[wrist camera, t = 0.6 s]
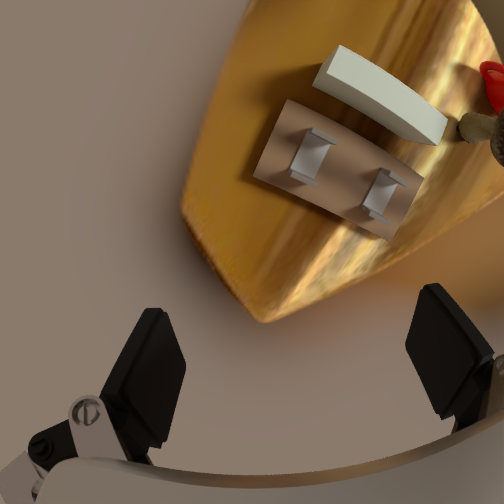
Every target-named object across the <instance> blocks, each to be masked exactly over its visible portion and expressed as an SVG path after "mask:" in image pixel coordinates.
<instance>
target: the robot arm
mask: <svg viewBox="0 0 504 504" xmlns="http://www.w3.org/2000/svg"><path fill="white" fill-rule="evenodd" d="M405 346H406V350H407V353H408V354H409V356H410V358H411V361H412V363H413V365H414V367H415V369H416V371H417V373H418V375H419V377H420V379H421V381H422V384H423V386H424V388H425V390H426V393H427V395H428V397H429V399H430V402H431V404H432V406H433V409H434V411H435V413H436V414H439V415H440V418H441V420H444V419H446V418H449V417H451V416H453V414H454V416H455V423H454V426H453V429H452V432H451V435H449V436H446V437H444V438H441V439H439V440H436V441H434V442H432V443H429V444H426V445H423V446H421V447H418V448H415V449H412V450H409V451H406V452H403V453H400V454H396V455H393V456H389V457H386V458H382V459H378V460H374V461H370V462H366V463H362V464H357V465H352V466H348V467H342V468H336V469H330V470H323V471H315V472H306V473H295V474H281V475H223V474H209V473H199V472H191V471H182V470H175V469H168V468H162V467H157V466H154V465H153V463H152V461H151V460H150V458H149V456H148V454H147V453H148V449H149V447H154V448H159V449H160V448H161V446H162V443H163V442H166V441H167V438H168V434H169V430H170V427H171V423H172V419H173V415H174V411H175V408H176V404H177V400H178V396H179V393H180V389H181V386H182V382H183V378H184V375H185V371H186V362H185V359H184V357H183V354H182V352H181V349H180V346H179V344H178V341H177V339H176V336H175V333H174V331H173V328H172V325H171V322H170V319H169V316H168V314H167V312H163V310H162V309H161V308H146V309H145V310H144V312H143V313H142V315H141V317H140V319H139V321H138V322H137V324H136V326H135V328H134V330H133V331H132V333H131V335H130V337H129V338H128V341H127V342H126V344H125V346H124V348H123V350H122V352H121V353H120V356H119V357H118V359H117V361H116V363H115V365H114V367H113V369H112V371H111V373H110V375H109V377H108V379H107V381H106V383H105V385H104V387H103V389H102V391H101V394H100V396H99V397H97V396H94V395H86V396H82V397H80V398H78V399H77V400H76V401H75V402H74V403H72V405H71V407H70V409H69V412H68V420H65V421H64V422H61V423H59V424H57V425H55V426H53V427H50V428H48V429H46V430H44V431H41V432H39V433H37V434H36V435H34V436H33V437H32V438H31V440H30V442H29V445H28V453H27V452H25V451H24V452H23V453H22V454H20V455H19V456H18V457H17V458H16V459H14V460H13V461H12V462H11V463H10V464H8V466H6V467H5V468H4V469H3V470H1V472H0V493H1V495H2V497H3V499H4V501H5V503H6V504H504V354H501V355H499V356H497V357H496V358H495V360H494V359H493V358H492V356H493V354H494V353H495V352H494V351H493V349H492V348H491V347H490V345H489V344H488V342H487V341H486V340H485V338H484V337H483V336H482V334H481V333H480V332H479V330H478V329H477V328H476V327H475V325H474V324H473V323H472V322H471V320H470V319H469V318H468V316H467V315H466V314H465V313H464V312H463V310H462V309H461V308H460V307H459V305H457V303H456V302H455V301H454V300H453V298H452V297H451V296H450V295H449V294H448V293H447V292H446V290H445V289H444V288H443V287H442V286H441V285H440V284H439V283H433V284H427V285H425V286H424V287H423V289H422V290H420V293H419V296H418V301H417V305H416V308H415V312H414V315H413V319H412V322H411V326H410V329H409V333H408V336H407V339H406V342H405Z"/></svg>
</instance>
